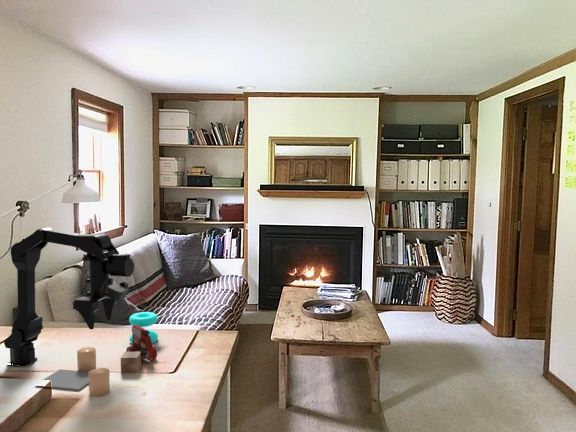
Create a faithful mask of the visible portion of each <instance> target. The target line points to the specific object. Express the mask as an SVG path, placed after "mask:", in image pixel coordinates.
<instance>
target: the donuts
mask: <svg viewBox="0 0 576 432" xmlns="http://www.w3.org/2000/svg"><path fill="white" fill-rule="evenodd" d="M158 319H159V317H158V315H157V314H156V313H155V312H152V311H150V312H149V311H142V312H136V313H133V314H132V315H130V316H129V319H128V322H129V324H130V325H131V326H133V325H138V326H140V327H142V328H145V327H150V326H153V325H154V324H156V323H157V322H158ZM147 330H148V331H149V336H150V337H151V342H152V344H154V343H156V342H157V340H158V339H159V334H158V333H157V332H156V331H154V330H152V329H147ZM129 342H130V343H131V344H132V333H131V334H130V336H129Z"/></svg>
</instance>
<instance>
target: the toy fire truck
mask: <svg viewBox="0 0 576 432" xmlns="http://www.w3.org/2000/svg"><path fill="white" fill-rule="evenodd" d="M148 330H149V329H145V327H140V326H138V325H131V334H132V343H131V345H130V346H127V347H126V349H125V350H126V351H125V352H141V363H142V361H143V360H148V361H150V360H151V361H152V360H156V359H157V357H158V351H157V348H156V347H155V346H153V343H152V342H151V337H150V336H149V331H148Z"/></svg>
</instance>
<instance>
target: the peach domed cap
mask: <svg viewBox="0 0 576 432" xmlns="http://www.w3.org/2000/svg"><path fill="white" fill-rule="evenodd" d="M110 381H111V379H110V369H109V368H107V367H96V369H93V370H91V371H90V372H89V384H88V394H89V396H90V397H93V398H99V397H103V396H107V395H108V394H109V393H110V391H111V386H110Z"/></svg>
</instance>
